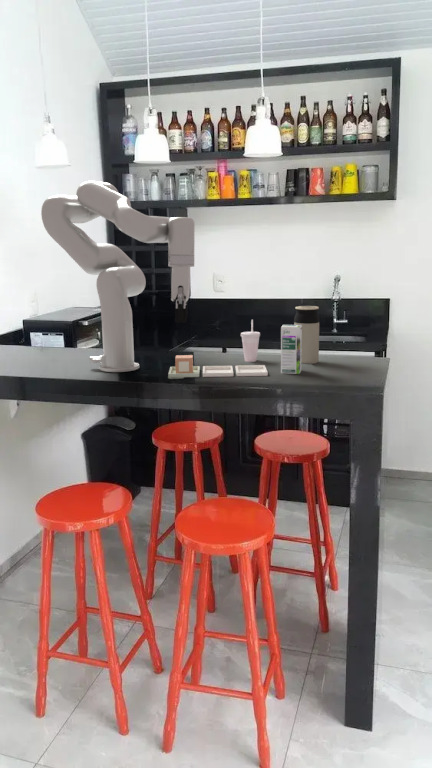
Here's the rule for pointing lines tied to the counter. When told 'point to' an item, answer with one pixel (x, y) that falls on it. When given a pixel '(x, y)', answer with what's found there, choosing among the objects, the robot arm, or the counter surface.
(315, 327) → the travel mug
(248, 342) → the smoothie
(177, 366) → the light orange cube
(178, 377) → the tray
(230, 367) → the tray
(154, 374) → the counter surface
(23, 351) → the counter surface
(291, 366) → the syrup box
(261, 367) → the tray
